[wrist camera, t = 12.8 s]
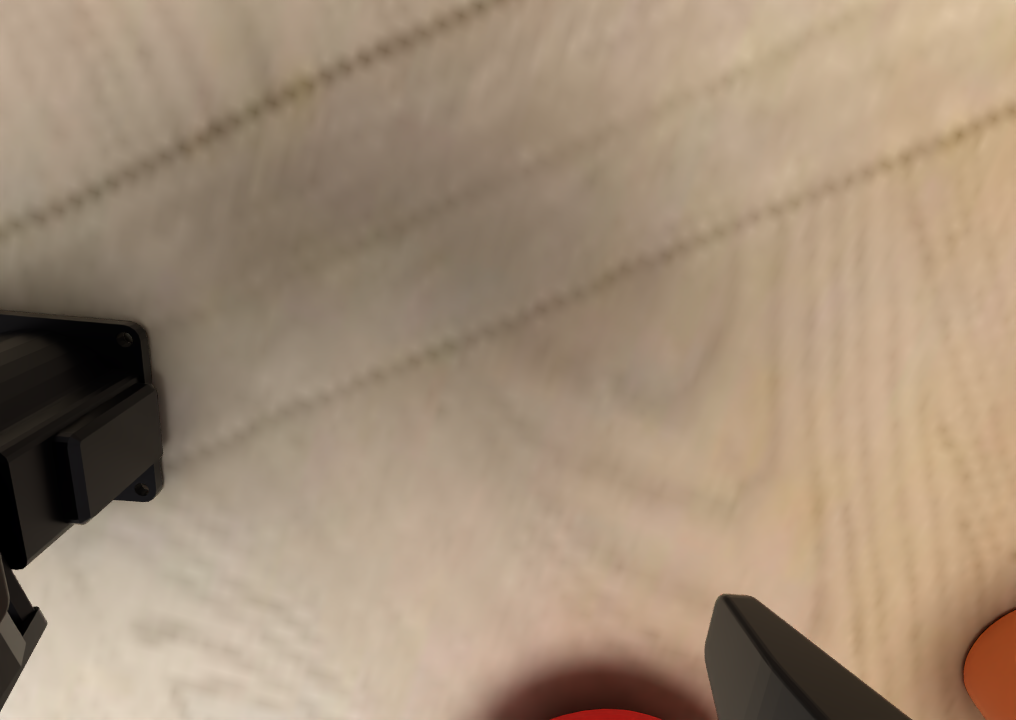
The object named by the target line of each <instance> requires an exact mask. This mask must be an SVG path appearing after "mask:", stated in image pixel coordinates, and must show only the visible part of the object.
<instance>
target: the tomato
mask: <svg viewBox="0 0 1016 720" xmlns="http://www.w3.org/2000/svg"><path fill="white" fill-rule="evenodd" d="M550 720H662V719H659V718H656V717H653V716H651V715H648V714H643V713H639V712H634V711H629V710H619V709H596V710H585V711H579V712H575V713H570V714H566V715H561V716H559V717H556V718H553V719H550Z"/></svg>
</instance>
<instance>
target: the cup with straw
mask: <svg viewBox="0 0 1016 720" xmlns="http://www.w3.org/2000/svg"><path fill="white" fill-rule="evenodd" d="M964 683H965V687H966V689H967V692H968V694H969V696H970V698H971V699H972V701H973V702H974V704H975V705H976V706H977V708H978V709H979V711H980V712H981V713H982V715H983V716H984V718H985V719H986V720H1016V610H1015V611H1013V612H1011V613H1009V614H1007V615H1005V616H1004V617H1002V618H1000V619H999V620H997V621H996V622H995V623H993V624H992V625H991V626H990V627H989V628H987V629H986V630H985V631H984V632H983V633H982V634H981V635H980V637H979V638H978V639H977V640H976V642H975V643H974V645H973V646H972V648H971V650H970V651H969V653H968V656H967V658H966V662H965V666H964Z"/></svg>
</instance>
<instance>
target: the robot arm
mask: <svg viewBox="0 0 1016 720" xmlns="http://www.w3.org/2000/svg"><path fill="white" fill-rule="evenodd" d="M124 332H125V333H128V334H129V335H130V336H131V337H132V339H133V342H132V343H129V342H128V341H126V340H125V338H124ZM162 455H163V448H162V438H161V428H160V418H159V408H158V398H157V391H156V389H155V388H154V387H153V385H152V378H151V368H150V358H149V348H148V339H147V335H146V332H145V330H144V329H143V328H142V327H141V326H140V325H138V324H137V323H134V322H131V321H120V320H108V319H97V318H85V317H73V316H62V315H50V314H38V313H27V312H15V311H3V310H0V711H1V709H2V708H3V706H4V704H5V702H6V700H7V698H8V696H9V695H10V693H11V691H12V689H13V687H14V685H15V683H16V682H17V680H18V678H19V676H20V674H21V672H22V671H23V669H24V667H25V665H26V663H27V661H28V659H29V658H30V656H31V654H32V652H33V650H34V648H35V646H36V645H37V643H38V641H39V639H40V637H41V635H42V633H43V632H44V630H45V628H46V626H47V621H46V619H45V617H44V616H43V614H42V612H41V610H40V609H39V607H33V606H32V604H31V603H30V601H29V599H28V598H27V596H26V594H25V592H24V591H23V589H22V587H21V585H20V584H19V582H18V580H17V579H16V577H15V575H14V573H13V572H12V570H11V569H14V570H19V569H23V568H25V567H26V566H27V565H28V564H29V563H30V562H31V561H33V560H34V559H35V558H36V557H37V556H38V555H39V554H41V553H42V552H43V551H44V550H45V549H46V548H47V547H49V546H50V545H51V544H52V543H53V542H54V541H56V540H57V539H58V538H59V537H60V536H61V535H62V534H64V533H65V532H66V531H67V530H68V529H69V528H70V527H72V526H73V525H74V524H78V525H84V524H86V523H88V522H89V521H90V520H91V519H92V518H93V517H94V516H96V515H97V514H98V513H99V512H100V511H101V510H102V509H103V508H104V507H106V506H107V505H108V504H109V503H110V502H111V501H112V500H123V501H136V502H149V501H151V500H152V499H154V498H155V497H156V496H157V495H158V494H159V493H160V491H161V490H162V476H161V466H160V457H161V456H162ZM141 483H142V484H145V485H146V486H148V488H149V490H147V489H144V488H143V487H142V485H141ZM705 663H706V668H707V672H708V677H709V681H710V685H711V690H712V694H713V698H714V703H715V707H716V711H717V716H718V720H912V719H911V718H909V717H908V716H907V715H905V714H904V713H903V712H902V711H900V710H899V709H898V708H896V707H895V706H894V705H893V704H891V703H890V702H889V701H887V700H886V699H885V698H883V697H882V696H881V695H880V694H878V693H877V692H876V691H874V690H873V689H872V688H871V687H869V686H868V685H867V684H865V683H864V682H863V681H862V680H860V679H859V678H858V677H856V676H855V675H854V674H852V673H851V672H850V671H849V670H847V669H846V668H845V667H843V666H842V665H841V664H840V663H838V662H837V661H836V660H834V659H833V658H832V657H831V656H829V655H828V654H827V653H825V652H824V651H823V650H821V649H820V648H819V647H818V646H816V645H815V644H814V643H812V642H811V641H810V640H809V639H807V638H806V637H805V636H803V635H802V634H801V633H800V632H798V631H797V630H796V629H794V628H793V627H792V626H790V625H789V624H788V623H787V622H785V621H784V620H783V619H781V618H780V617H779V616H778V615H776V614H775V613H774V612H772V611H771V610H770V609H769V608H767V607H766V606H765V605H763V604H762V603H761V602H759V601H758V600H757V599H755V598H754V597H752V596H748V595H735V594H722V595H720V596H719V597H718V598H717V600H716V602H715V606H714V610H713V614H712V618H711V622H710V626H709V630H708V634H707V638H706V642H705Z"/></svg>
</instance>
